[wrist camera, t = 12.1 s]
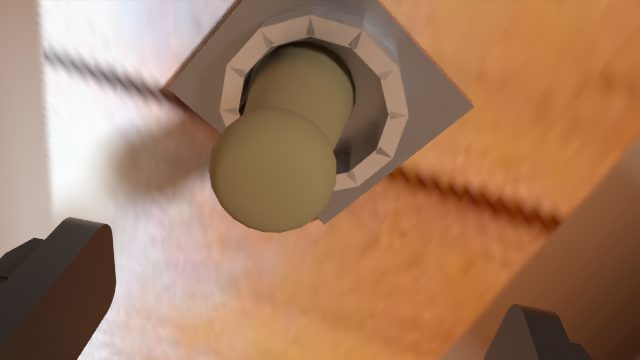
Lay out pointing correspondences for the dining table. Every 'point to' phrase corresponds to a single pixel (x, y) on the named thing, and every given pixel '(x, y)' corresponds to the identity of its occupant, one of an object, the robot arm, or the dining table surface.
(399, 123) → the hub
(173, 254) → the dining table surface
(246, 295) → the dining table surface
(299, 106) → the cork
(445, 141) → the dining table surface
